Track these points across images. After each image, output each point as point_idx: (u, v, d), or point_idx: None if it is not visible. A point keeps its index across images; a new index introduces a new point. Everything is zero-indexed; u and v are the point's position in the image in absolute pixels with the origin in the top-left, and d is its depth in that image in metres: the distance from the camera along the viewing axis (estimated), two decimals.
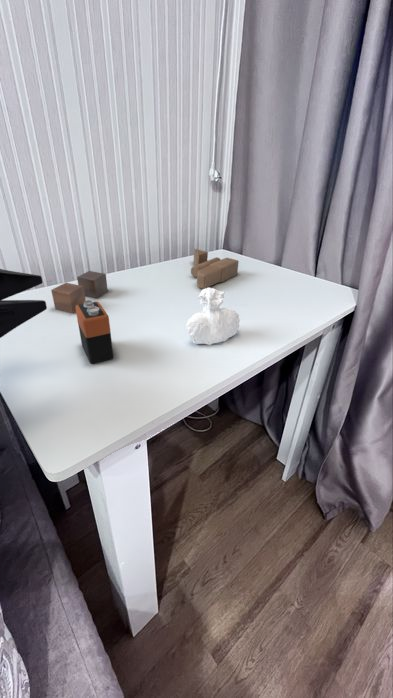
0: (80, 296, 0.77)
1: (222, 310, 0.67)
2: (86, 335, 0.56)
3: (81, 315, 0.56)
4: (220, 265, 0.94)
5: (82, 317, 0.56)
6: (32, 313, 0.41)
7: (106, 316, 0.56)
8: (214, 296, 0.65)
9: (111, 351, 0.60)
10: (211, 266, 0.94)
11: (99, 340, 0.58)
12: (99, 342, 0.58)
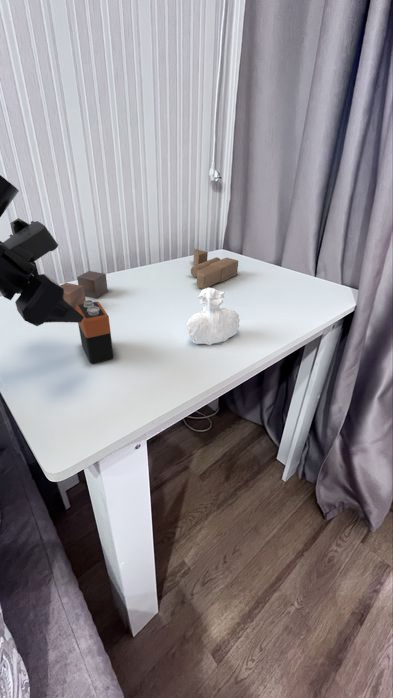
0: (80, 296, 0.77)
1: (222, 310, 0.67)
2: (86, 335, 0.56)
3: None
4: (220, 265, 0.94)
5: None
6: (72, 319, 0.51)
7: (106, 316, 0.56)
8: (214, 296, 0.65)
9: (111, 351, 0.60)
10: (211, 266, 0.94)
11: (99, 340, 0.58)
12: (99, 342, 0.58)
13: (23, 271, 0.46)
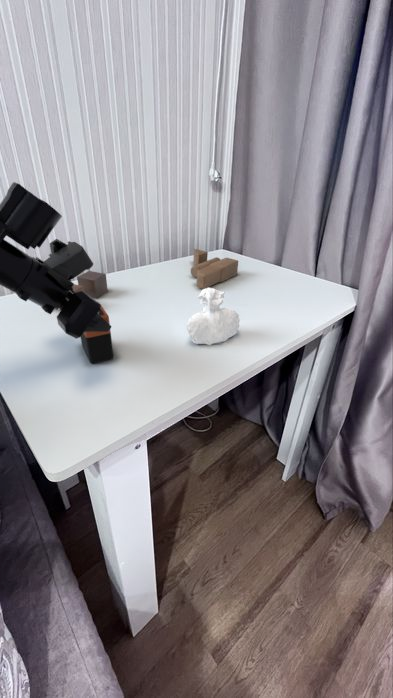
0: None
1: (222, 310, 0.67)
2: (86, 335, 0.56)
3: None
4: (220, 265, 0.94)
5: None
6: (101, 329, 0.56)
7: (106, 316, 0.56)
8: (214, 296, 0.65)
9: (111, 351, 0.60)
10: (211, 266, 0.94)
11: (100, 340, 0.58)
12: (99, 342, 0.58)
13: (62, 288, 0.50)
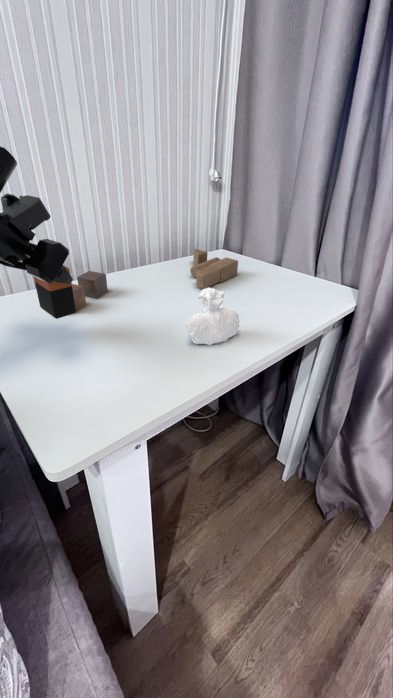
0: (80, 296, 0.77)
1: (222, 310, 0.67)
2: (50, 288, 0.58)
3: None
4: (220, 265, 0.94)
5: None
6: (65, 280, 0.58)
7: (67, 268, 0.59)
8: (214, 296, 0.65)
9: (74, 305, 0.63)
10: (211, 266, 0.94)
11: (63, 293, 0.60)
12: (62, 295, 0.60)
13: (24, 238, 0.52)
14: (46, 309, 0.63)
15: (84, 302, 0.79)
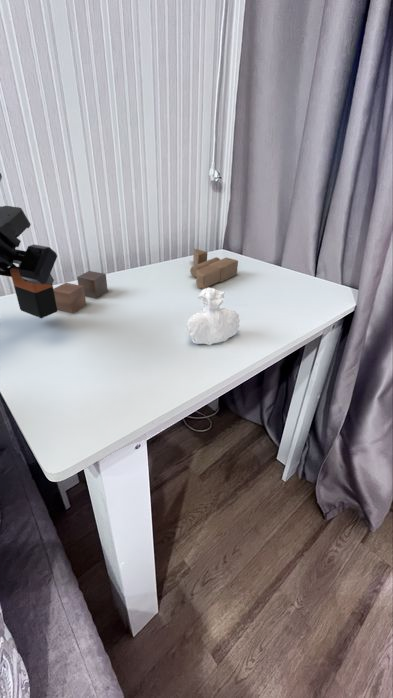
0: (80, 296, 0.77)
1: (222, 310, 0.67)
2: (34, 290, 0.63)
3: None
4: (219, 265, 0.94)
5: None
6: (48, 281, 0.64)
7: None
8: (214, 296, 0.65)
9: (55, 304, 0.68)
10: (210, 266, 0.94)
11: (46, 293, 0.65)
12: (45, 295, 0.66)
13: (12, 245, 0.57)
14: (29, 310, 0.67)
15: (84, 302, 0.79)
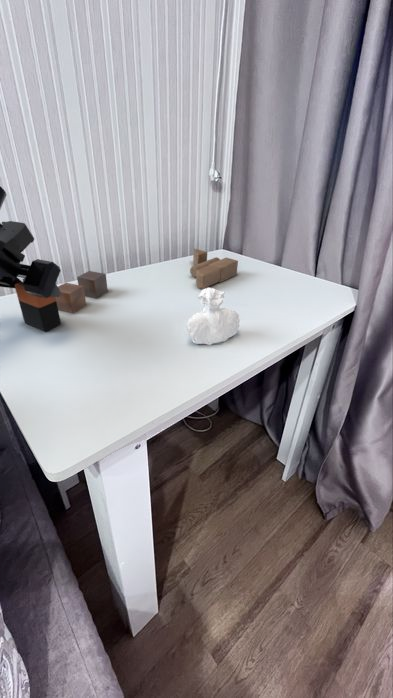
0: (80, 296, 0.77)
1: (222, 310, 0.67)
2: (38, 305, 0.65)
3: None
4: (219, 265, 0.94)
5: None
6: (55, 294, 0.65)
7: None
8: (214, 296, 0.65)
9: (59, 317, 0.70)
10: (210, 266, 0.94)
11: (49, 308, 0.67)
12: (49, 310, 0.67)
13: (16, 260, 0.58)
14: (33, 324, 0.69)
15: (84, 302, 0.79)
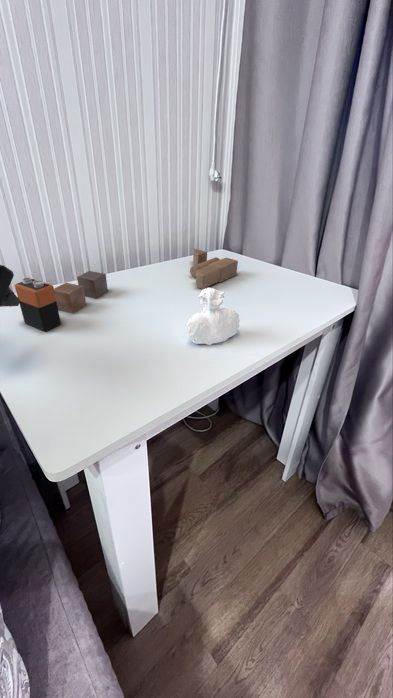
0: (80, 296, 0.77)
1: (222, 310, 0.67)
2: (39, 305, 0.65)
3: (29, 289, 0.64)
4: (219, 265, 0.94)
5: (31, 290, 0.64)
6: (12, 303, 0.56)
7: (51, 286, 0.66)
8: (214, 296, 0.65)
9: (59, 317, 0.70)
10: (210, 266, 0.94)
11: (49, 308, 0.67)
12: (49, 310, 0.67)
13: None
14: (33, 324, 0.69)
15: (84, 302, 0.79)
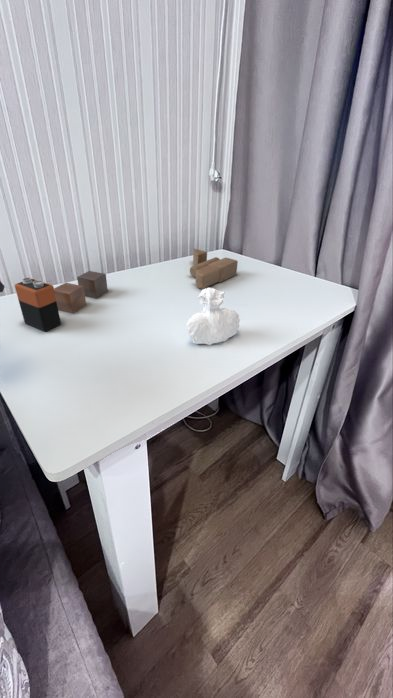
0: (80, 296, 0.77)
1: (222, 310, 0.67)
2: (39, 305, 0.65)
3: (29, 289, 0.64)
4: (219, 265, 0.94)
5: (31, 290, 0.64)
6: None
7: (51, 286, 0.66)
8: (214, 296, 0.65)
9: (59, 317, 0.70)
10: (210, 266, 0.94)
11: (49, 308, 0.67)
12: (49, 310, 0.67)
13: None
14: (33, 324, 0.69)
15: (84, 302, 0.79)
